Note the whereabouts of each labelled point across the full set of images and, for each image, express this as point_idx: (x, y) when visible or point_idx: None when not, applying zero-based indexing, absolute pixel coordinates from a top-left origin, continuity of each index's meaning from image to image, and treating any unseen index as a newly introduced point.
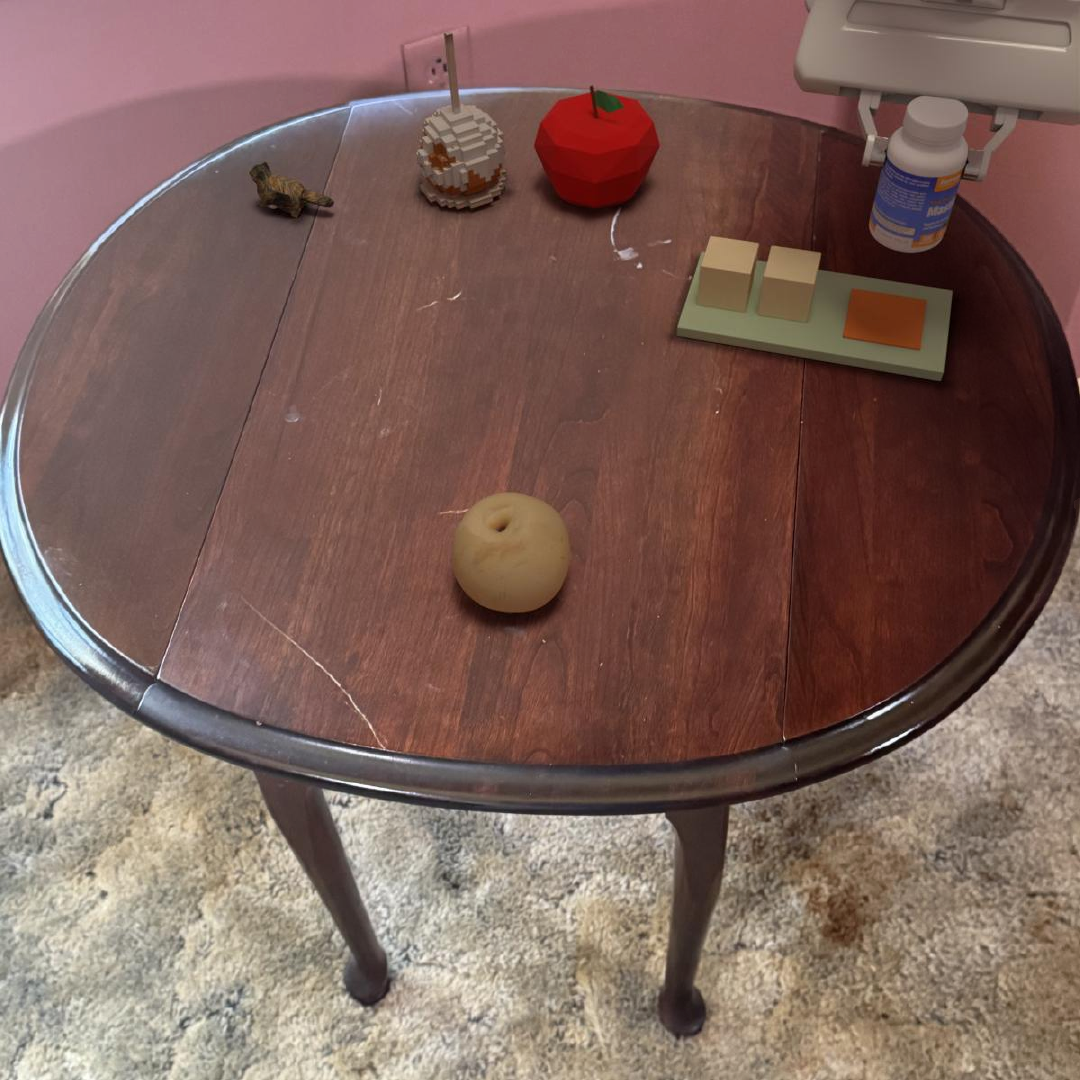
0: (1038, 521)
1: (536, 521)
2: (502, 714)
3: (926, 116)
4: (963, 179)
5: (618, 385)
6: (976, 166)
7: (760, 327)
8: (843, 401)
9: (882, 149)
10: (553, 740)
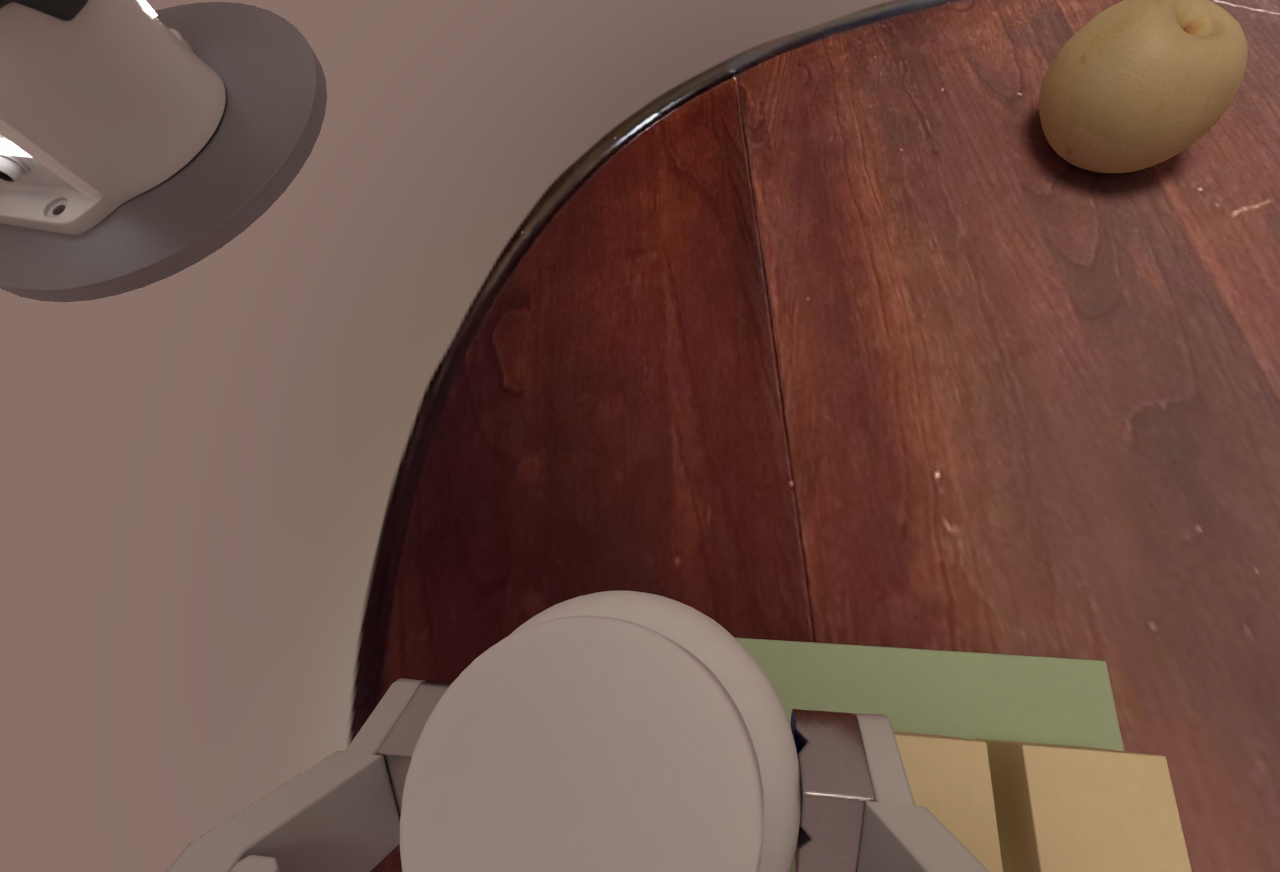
0: (454, 379)
1: (1140, 18)
2: (1020, 24)
3: (642, 709)
4: None
5: (1141, 500)
6: (425, 696)
7: (927, 693)
8: (729, 545)
9: (818, 743)
10: (956, 19)
